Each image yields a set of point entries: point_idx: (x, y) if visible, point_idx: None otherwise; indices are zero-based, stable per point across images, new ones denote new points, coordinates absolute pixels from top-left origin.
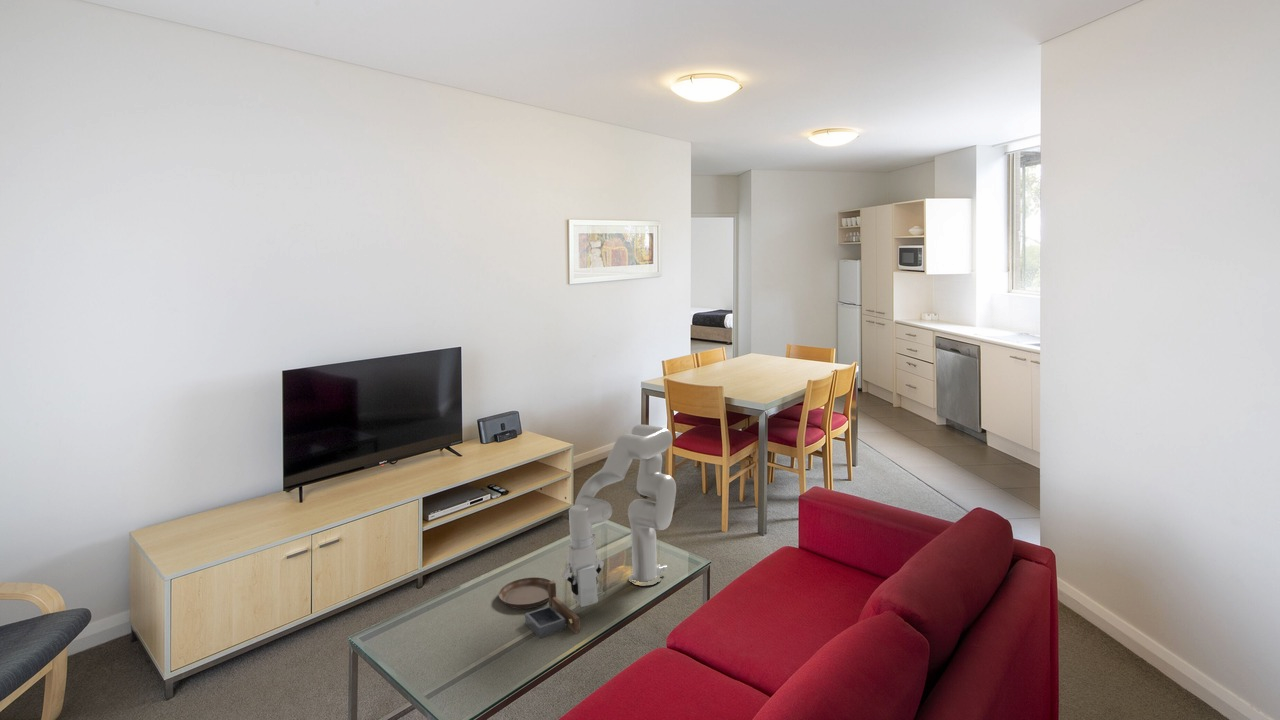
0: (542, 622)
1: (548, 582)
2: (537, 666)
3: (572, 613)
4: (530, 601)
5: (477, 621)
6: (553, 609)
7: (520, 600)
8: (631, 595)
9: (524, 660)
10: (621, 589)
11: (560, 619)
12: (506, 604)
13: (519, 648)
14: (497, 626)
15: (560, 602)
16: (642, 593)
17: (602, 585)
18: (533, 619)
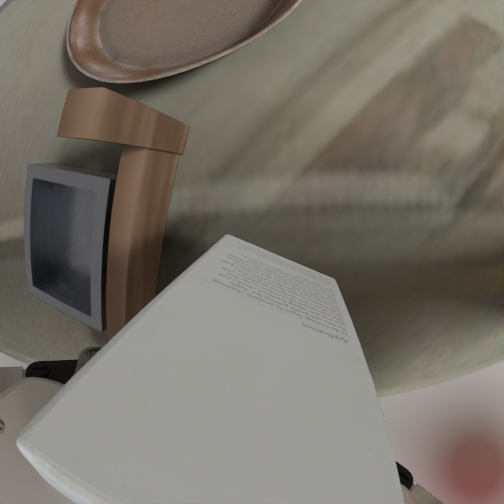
0: (80, 213)
1: (66, 100)
2: (31, 351)
3: None
4: (156, 24)
5: (19, 66)
6: (99, 226)
7: (143, 1)
8: (466, 324)
9: (16, 315)
10: (490, 260)
11: (87, 316)
12: (87, 17)
13: (14, 270)
14: (19, 122)
15: (122, 236)
16: (484, 339)
17: (483, 165)
18: (28, 229)
